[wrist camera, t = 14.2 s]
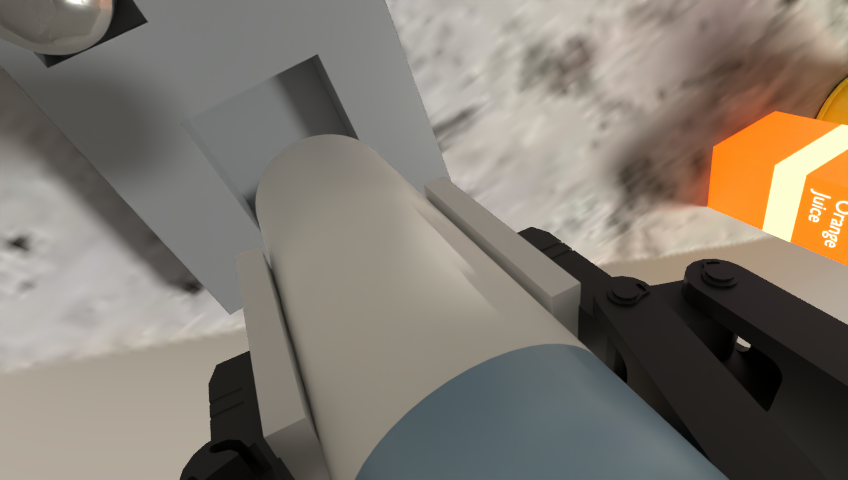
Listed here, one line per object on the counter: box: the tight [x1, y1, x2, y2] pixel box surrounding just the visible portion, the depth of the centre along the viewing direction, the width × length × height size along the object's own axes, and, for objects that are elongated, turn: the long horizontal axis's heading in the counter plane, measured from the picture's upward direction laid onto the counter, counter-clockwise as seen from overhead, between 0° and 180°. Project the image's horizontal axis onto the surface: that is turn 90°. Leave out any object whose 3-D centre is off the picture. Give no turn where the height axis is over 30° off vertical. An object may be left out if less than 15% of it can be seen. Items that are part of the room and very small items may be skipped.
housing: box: [0, 0, 451, 314], centre depth 23 cm, size 22×16×4 cm
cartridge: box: [255, 134, 729, 480], centre depth 11 cm, size 5×5×16 cm
